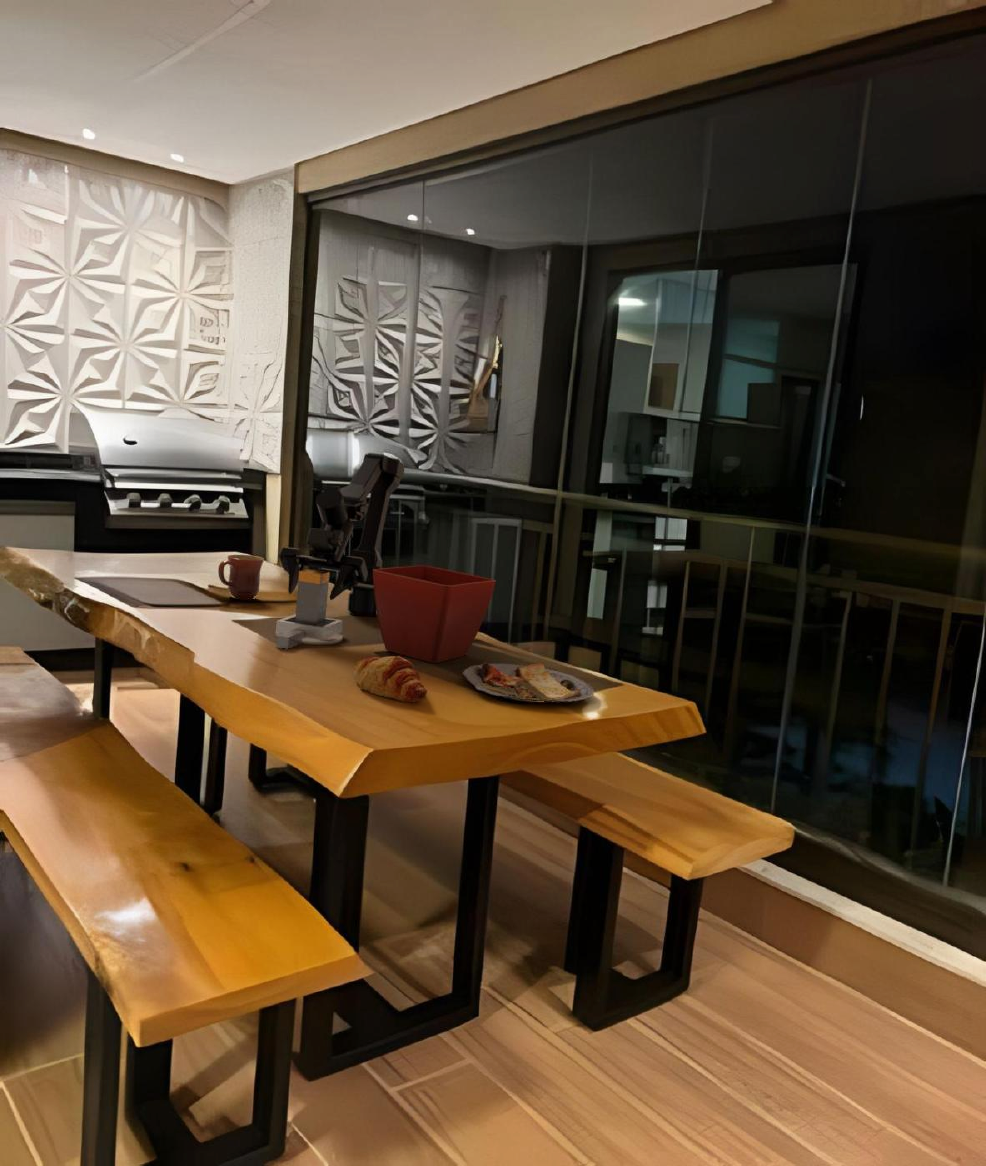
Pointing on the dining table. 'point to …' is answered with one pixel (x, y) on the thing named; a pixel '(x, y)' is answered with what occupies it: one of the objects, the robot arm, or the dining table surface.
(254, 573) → the mug
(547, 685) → the food plate
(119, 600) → the dining table surface
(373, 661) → the croissant
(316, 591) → the orange square peg
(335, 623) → the square socket
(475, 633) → the plant pot
